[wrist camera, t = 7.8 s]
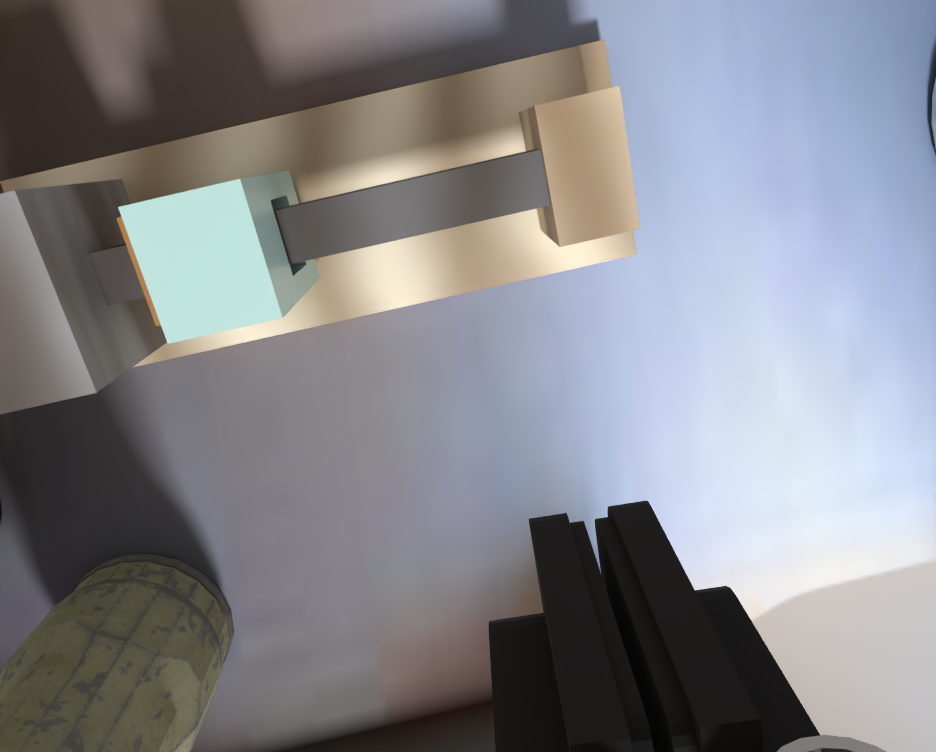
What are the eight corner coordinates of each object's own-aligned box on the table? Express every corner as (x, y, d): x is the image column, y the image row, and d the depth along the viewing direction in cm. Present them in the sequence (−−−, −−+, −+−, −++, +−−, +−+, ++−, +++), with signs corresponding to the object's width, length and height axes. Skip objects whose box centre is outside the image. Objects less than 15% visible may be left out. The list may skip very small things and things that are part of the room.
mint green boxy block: (289, 170, 30) (239, 179, 23) (320, 277, 31) (282, 317, 24) (196, 192, 30) (118, 206, 23) (231, 298, 31) (167, 344, 24)
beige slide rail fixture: (599, 42, 30) (661, 2, 22) (631, 251, 33) (696, 288, 25) (13, 180, 31) (-149, 194, 23) (90, 372, 34) (-28, 448, 25)
